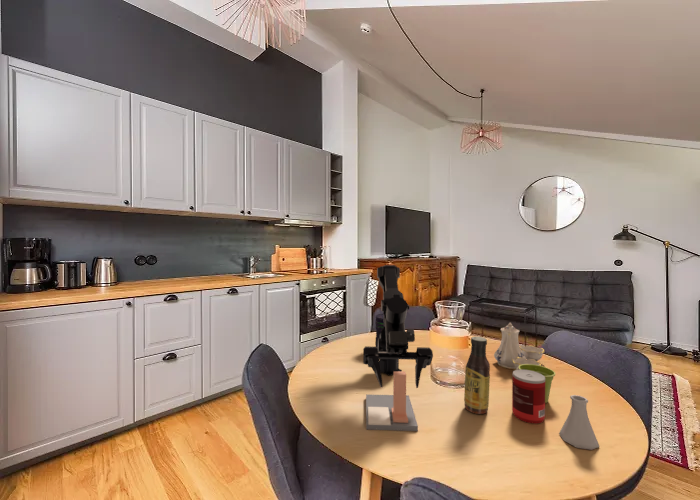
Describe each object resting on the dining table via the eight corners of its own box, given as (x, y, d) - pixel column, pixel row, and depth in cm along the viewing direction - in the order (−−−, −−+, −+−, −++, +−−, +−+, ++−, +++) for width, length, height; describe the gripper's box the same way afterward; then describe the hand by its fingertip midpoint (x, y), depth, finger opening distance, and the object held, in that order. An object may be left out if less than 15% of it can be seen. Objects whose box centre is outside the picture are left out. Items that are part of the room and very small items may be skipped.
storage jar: (399, 354, 133) (400, 318, 132) (376, 354, 133) (376, 318, 133) (396, 347, 143) (396, 313, 142) (374, 347, 143) (374, 313, 143)
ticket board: (417, 430, 78) (417, 424, 78) (366, 429, 79) (366, 422, 78) (408, 399, 94) (408, 394, 94) (366, 398, 94) (366, 393, 94)
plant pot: (524, 388, 101) (524, 361, 101) (558, 399, 95) (559, 369, 94) (513, 398, 95) (513, 369, 95) (550, 410, 88) (550, 379, 88)
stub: (408, 422, 79) (408, 377, 79) (393, 422, 79) (393, 377, 79) (405, 410, 85) (405, 368, 85) (391, 409, 85) (391, 368, 85)
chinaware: (543, 390, 104) (550, 340, 103) (488, 374, 112) (494, 328, 111) (542, 363, 128) (547, 322, 127) (496, 352, 136) (501, 313, 135)
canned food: (541, 411, 88) (541, 371, 87) (548, 426, 80) (549, 383, 80) (510, 406, 90) (510, 367, 90) (514, 421, 82) (514, 378, 82)
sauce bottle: (459, 406, 90) (459, 336, 90) (476, 402, 92) (476, 333, 92) (477, 418, 84) (477, 342, 84) (494, 413, 86) (495, 339, 86)
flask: (552, 432, 78) (553, 391, 77) (580, 431, 78) (581, 390, 78) (576, 451, 70) (576, 406, 70) (606, 450, 71) (607, 405, 71)
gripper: (363, 317, 89) (363, 372, 78) (431, 318, 88) (441, 374, 77) (363, 338, 96) (363, 390, 85) (426, 339, 96) (434, 392, 85)
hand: (399, 387), depth 83 cm, fingers open, 9 cm apart
